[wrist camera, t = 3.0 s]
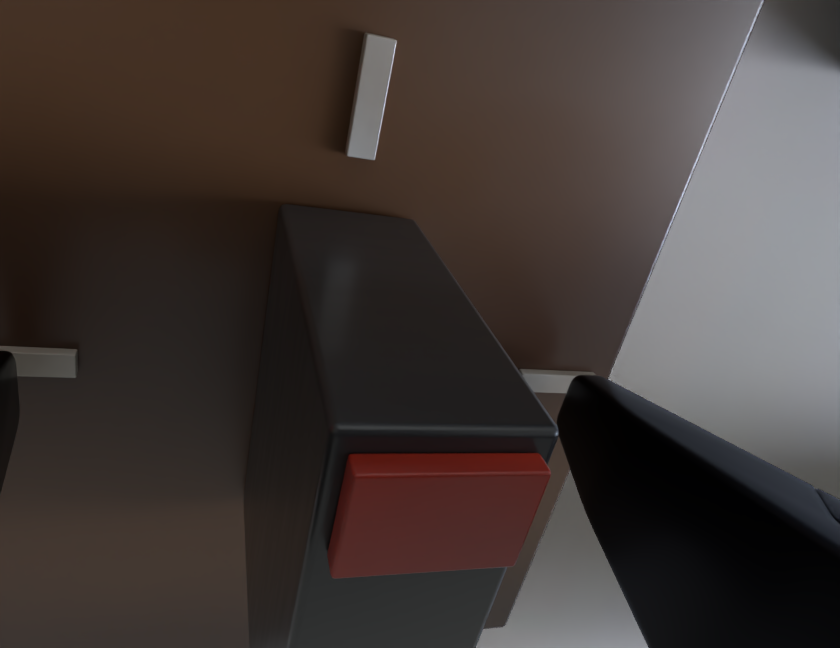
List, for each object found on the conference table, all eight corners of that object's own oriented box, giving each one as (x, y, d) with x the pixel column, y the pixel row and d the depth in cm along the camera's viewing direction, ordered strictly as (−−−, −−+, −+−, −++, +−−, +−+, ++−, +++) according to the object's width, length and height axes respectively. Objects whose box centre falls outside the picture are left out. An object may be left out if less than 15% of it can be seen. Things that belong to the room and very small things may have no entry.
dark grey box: (353, 497, 11) (429, 814, 7) (242, 500, 10) (256, 848, 6) (416, 217, 9) (580, 450, 5) (279, 201, 8) (334, 451, 4)
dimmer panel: (463, 524, 17) (508, 635, 14) (14, 544, 13) (-37, 693, 11) (654, -46, 11) (795, -43, 8) (-62, -264, 7) (-218, -377, 5)
